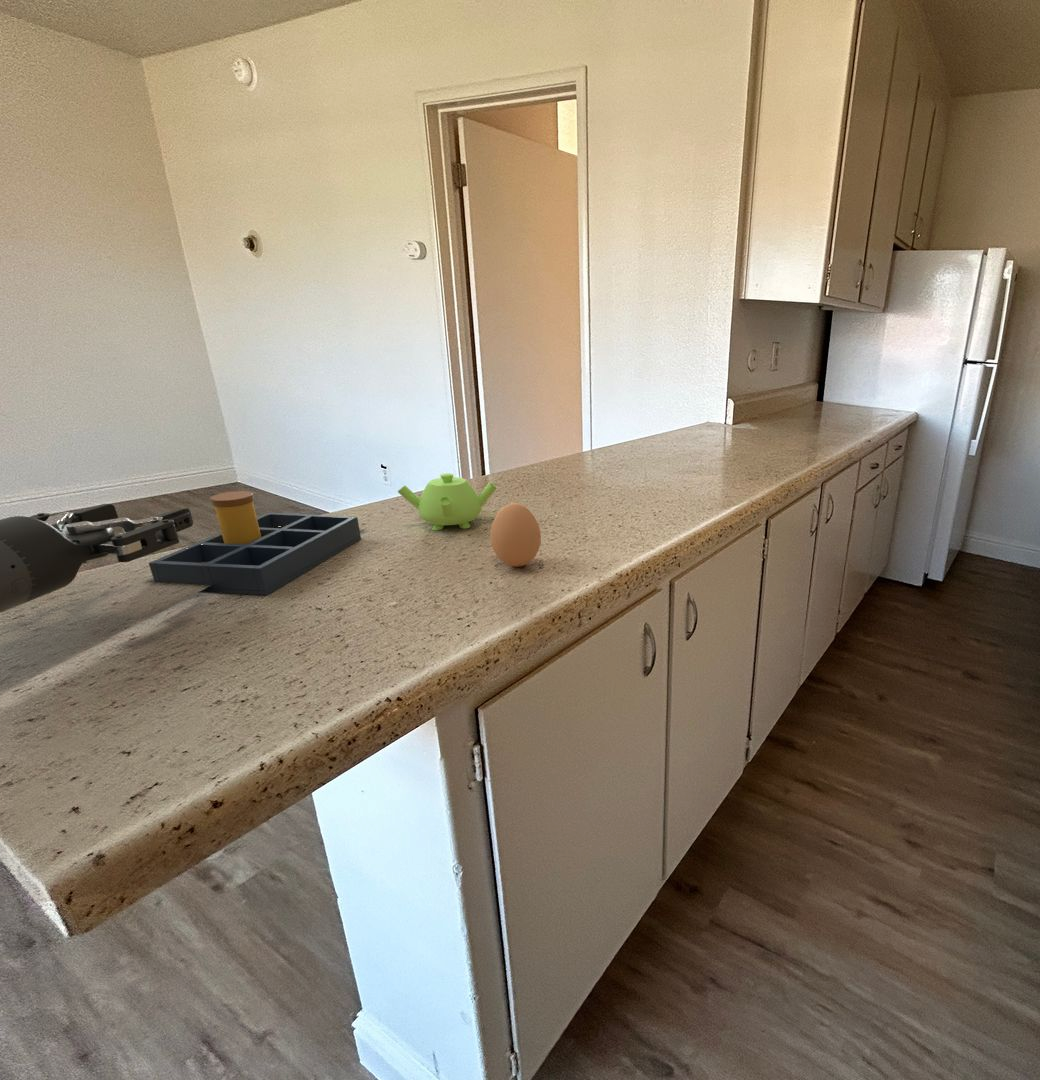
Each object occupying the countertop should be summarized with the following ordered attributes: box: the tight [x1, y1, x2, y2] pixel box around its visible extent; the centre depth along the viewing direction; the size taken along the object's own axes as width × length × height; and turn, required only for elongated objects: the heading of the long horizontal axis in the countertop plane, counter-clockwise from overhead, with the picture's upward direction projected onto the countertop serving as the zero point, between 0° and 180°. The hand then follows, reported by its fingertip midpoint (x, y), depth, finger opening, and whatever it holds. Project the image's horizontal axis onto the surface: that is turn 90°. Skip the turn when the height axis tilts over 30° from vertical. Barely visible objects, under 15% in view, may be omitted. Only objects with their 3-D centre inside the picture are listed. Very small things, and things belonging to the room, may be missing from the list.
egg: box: [490, 502, 542, 568], centre depth 82 cm, size 7×7×9 cm
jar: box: [209, 490, 261, 544], centre depth 79 cm, size 4×4×8 cm
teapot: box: [397, 472, 498, 531], centre depth 97 cm, size 11×12×8 cm
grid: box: [148, 512, 362, 596], centre depth 80 cm, size 13×20×4 cm
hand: (150, 514), depth 67 cm, fingers open, 8 cm apart
